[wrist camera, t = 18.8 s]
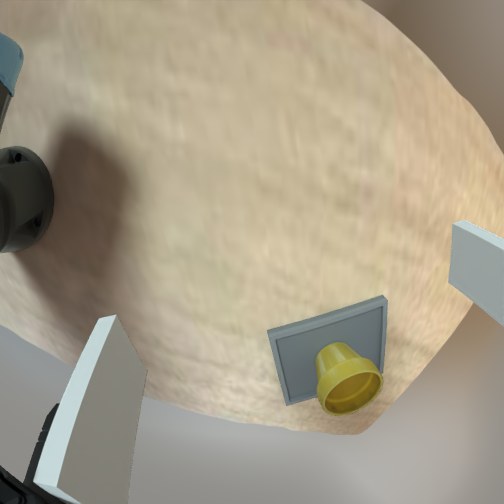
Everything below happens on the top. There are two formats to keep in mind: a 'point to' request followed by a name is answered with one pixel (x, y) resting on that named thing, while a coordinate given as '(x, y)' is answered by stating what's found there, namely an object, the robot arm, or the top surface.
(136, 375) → the robot arm
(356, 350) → the charcoal tray
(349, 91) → the top surface
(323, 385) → the plant pot
